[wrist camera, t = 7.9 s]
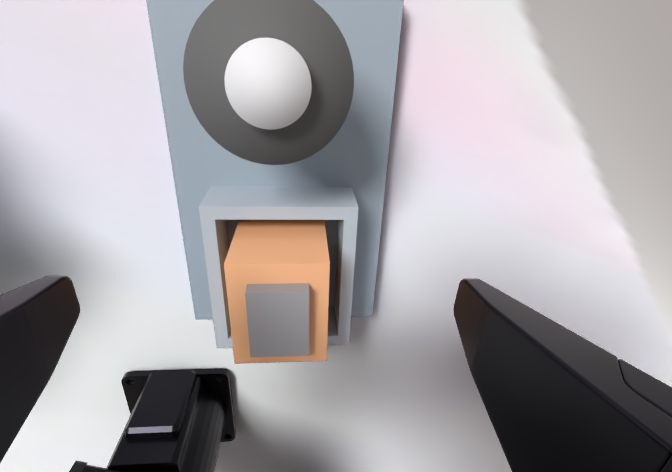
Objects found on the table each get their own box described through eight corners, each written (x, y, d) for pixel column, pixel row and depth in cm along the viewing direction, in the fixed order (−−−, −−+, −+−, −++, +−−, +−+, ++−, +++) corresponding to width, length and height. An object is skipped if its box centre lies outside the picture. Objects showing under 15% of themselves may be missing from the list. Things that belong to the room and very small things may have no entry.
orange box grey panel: (321, 294, 22) (327, 371, 17) (248, 296, 21) (232, 374, 16) (323, 212, 19) (330, 271, 14) (242, 212, 19) (220, 272, 14)
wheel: (345, 155, 14) (352, 173, 12) (204, 152, 14) (188, 171, 12) (353, -6, 12) (363, -16, 10) (185, -16, 11) (161, -27, 10)
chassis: (369, 303, 24) (380, 346, 20) (200, 306, 23) (183, 351, 19) (397, -4, 17) (421, -15, 13) (153, -17, 16) (114, -32, 12)
